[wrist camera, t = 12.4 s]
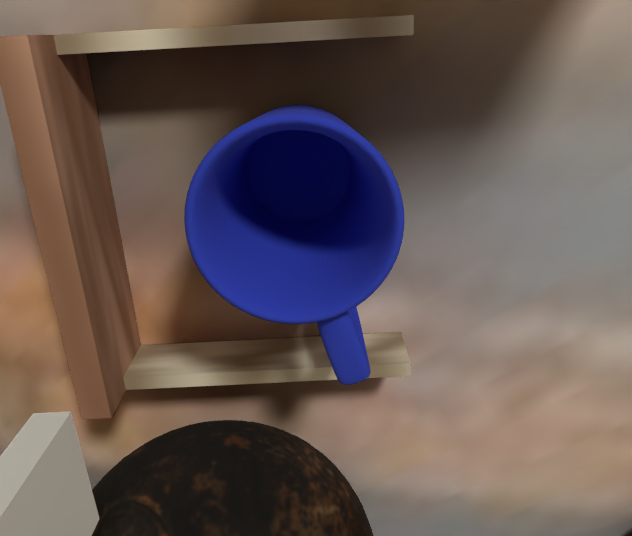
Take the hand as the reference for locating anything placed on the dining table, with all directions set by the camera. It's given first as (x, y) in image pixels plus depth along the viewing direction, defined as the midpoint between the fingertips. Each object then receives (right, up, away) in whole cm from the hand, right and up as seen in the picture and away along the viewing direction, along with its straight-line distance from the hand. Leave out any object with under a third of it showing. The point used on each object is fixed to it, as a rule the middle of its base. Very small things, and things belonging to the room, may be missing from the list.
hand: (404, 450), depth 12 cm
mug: (-2, +7, +20) cm, 22 cm away
